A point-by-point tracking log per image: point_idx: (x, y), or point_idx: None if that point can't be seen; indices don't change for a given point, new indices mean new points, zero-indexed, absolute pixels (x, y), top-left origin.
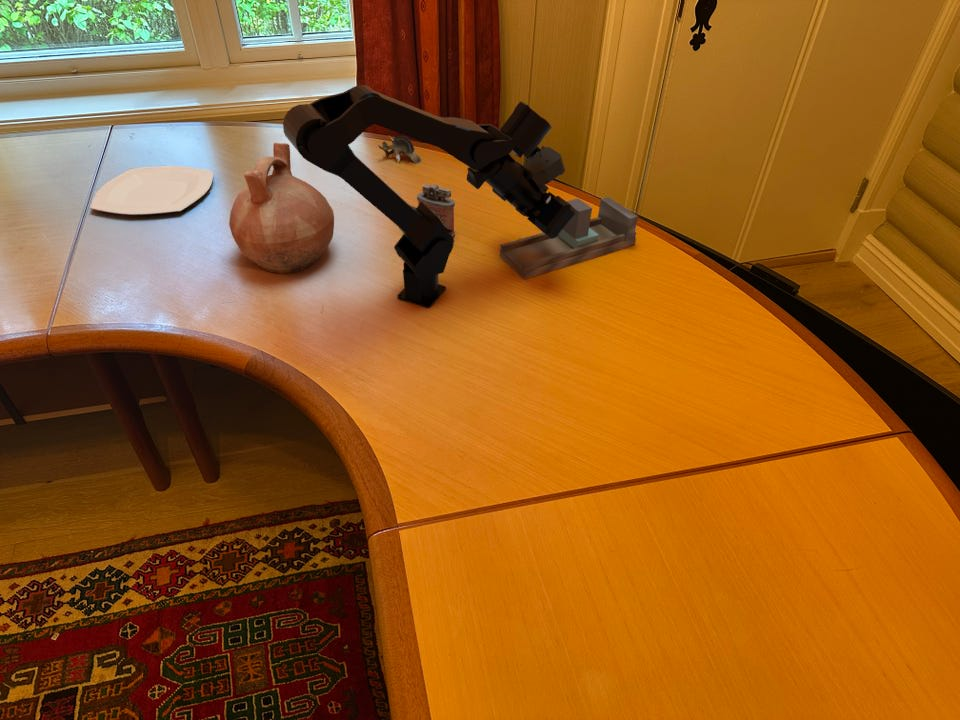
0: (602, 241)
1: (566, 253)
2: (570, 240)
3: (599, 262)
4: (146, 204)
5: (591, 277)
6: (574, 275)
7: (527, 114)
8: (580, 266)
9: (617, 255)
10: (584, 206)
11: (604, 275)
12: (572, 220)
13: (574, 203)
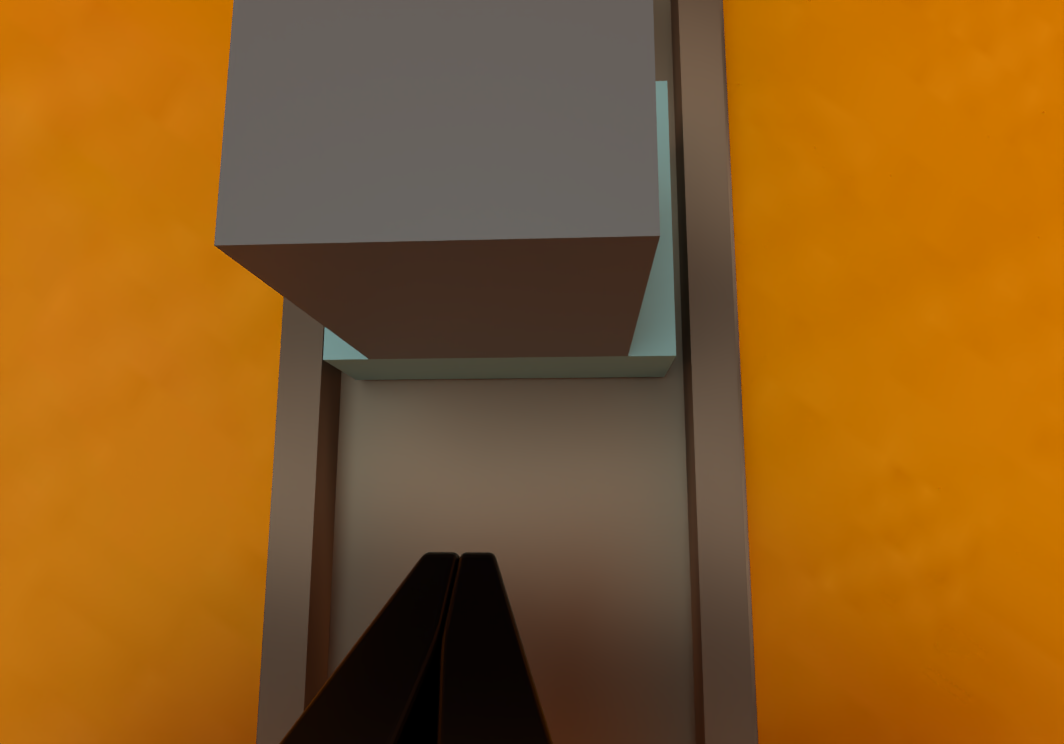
0: (705, 91)
1: (745, 554)
2: (551, 366)
3: (801, 240)
4: None
5: (982, 443)
6: (892, 562)
7: None
8: (786, 425)
9: (772, 48)
10: (542, 42)
11: (999, 323)
12: (525, 308)
13: (363, 135)
